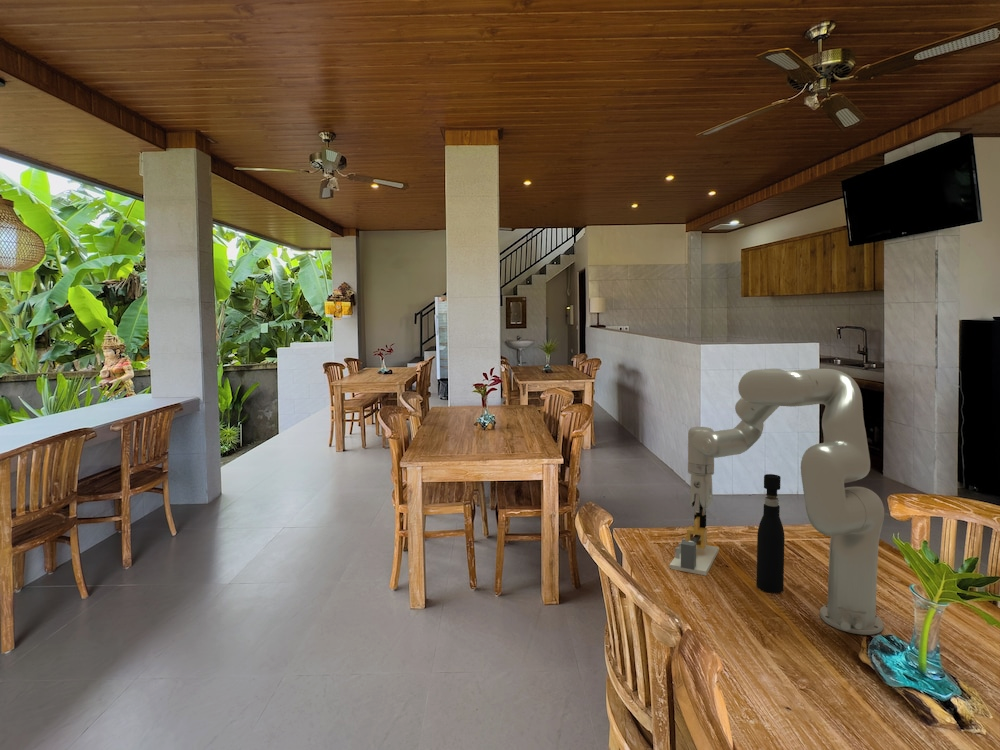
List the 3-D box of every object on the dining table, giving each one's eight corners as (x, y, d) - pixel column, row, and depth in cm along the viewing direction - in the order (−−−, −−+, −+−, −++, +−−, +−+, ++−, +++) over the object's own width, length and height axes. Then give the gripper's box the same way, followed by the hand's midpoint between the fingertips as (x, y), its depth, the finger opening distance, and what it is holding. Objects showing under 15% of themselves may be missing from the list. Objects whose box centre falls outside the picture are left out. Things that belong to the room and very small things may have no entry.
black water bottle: (755, 590, 150) (757, 477, 148) (757, 580, 156) (759, 471, 154) (782, 595, 147) (785, 480, 145) (783, 585, 153) (786, 474, 151)
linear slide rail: (705, 576, 159) (706, 548, 159) (669, 569, 164) (669, 541, 164) (718, 550, 177) (719, 525, 176) (685, 545, 182) (685, 520, 181)
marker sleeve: (704, 549, 170) (704, 521, 169) (686, 546, 172) (686, 519, 171) (706, 544, 173) (707, 518, 172) (689, 541, 175) (689, 515, 175)
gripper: (709, 475, 166) (708, 537, 168) (718, 464, 179) (717, 521, 181) (682, 472, 170) (681, 532, 172) (693, 461, 183) (692, 518, 184)
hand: (700, 527), depth 176 cm, fingers closed
